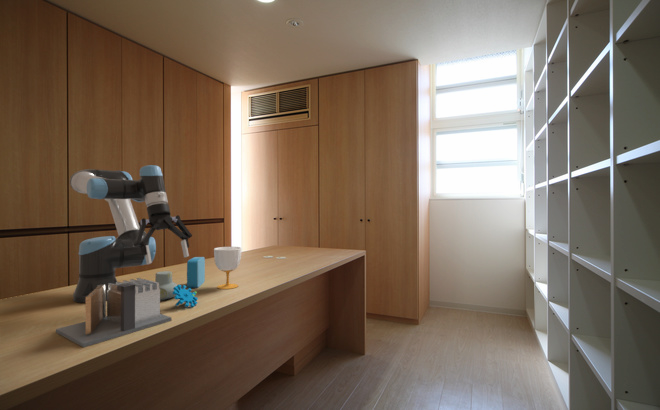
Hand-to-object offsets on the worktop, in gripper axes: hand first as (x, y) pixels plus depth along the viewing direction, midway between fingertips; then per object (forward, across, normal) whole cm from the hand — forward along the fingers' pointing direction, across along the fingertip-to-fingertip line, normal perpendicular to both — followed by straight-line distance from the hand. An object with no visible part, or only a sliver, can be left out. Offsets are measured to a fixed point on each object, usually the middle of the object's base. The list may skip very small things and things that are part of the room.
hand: (168, 260), depth 125 cm
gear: (+18, +2, -2) cm, 18 cm away
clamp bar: (+15, -27, -6) cm, 31 cm away
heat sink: (+18, -17, -6) cm, 25 cm away
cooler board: (+17, -22, -7) cm, 29 cm away
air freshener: (+13, +1, +13) cm, 18 cm away
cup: (+15, +27, +11) cm, 33 cm away
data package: (+11, +20, +23) cm, 32 cm away
